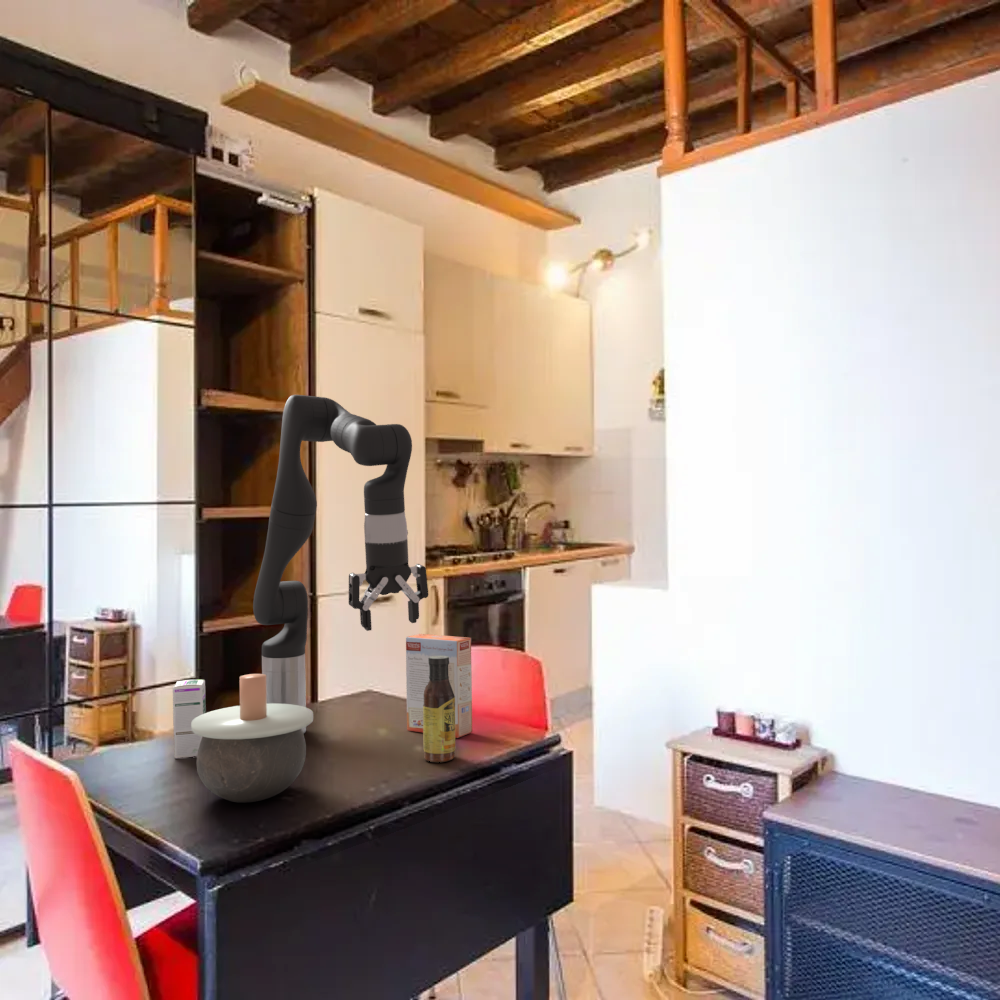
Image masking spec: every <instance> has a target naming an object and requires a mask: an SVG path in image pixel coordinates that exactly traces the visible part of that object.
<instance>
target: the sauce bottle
mask: <svg viewBox="0 0 1000 1000" xmlns="http://www.w3.org/2000/svg"><path fill="white" fill-rule="evenodd" d="M428 661H429V673H430V674H429V679H430V680H429V682H428V685H427V686H426V687H425V690H424V705H423V733H422V734H423V735H422V736H423V737H422V738H423V740H422V741H423V744H422V745H423V746H422V747H423V758H424V759H425V761H426V762H429V761H430V763H439V762H440V763H445V762H450V761H452V760H453V759H454V758H455V752H456V738H455V696H454V693H453V690H452V687H451V684H450V682H449V676H448V665H449V657H448V656H431V657H429V658H428Z"/></svg>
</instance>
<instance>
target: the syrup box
mask: <svg viewBox="0 0 1000 1000" xmlns="http://www.w3.org/2000/svg"><path fill="white" fill-rule="evenodd" d="M206 698H207V697H206V680H205V679H184V680H177V681H176V683H175V684H174V685H173V686H172V716H173V717H172V718H173V719H172V720H173V725H172V726H173V755H174V759H181V758H180V757H191V756H197V754H198V749H199V745H200V742H201V739H202V736H199V735H197V734H195V733H193V732H192V730H191V722H192V720H193V719H195V718H196V717H198V716H200V715H202V714H204V713H207V707H206V705H207V704H206Z"/></svg>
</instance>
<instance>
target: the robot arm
mask: <svg viewBox="0 0 1000 1000" xmlns="http://www.w3.org/2000/svg"><path fill="white" fill-rule="evenodd" d="M280 432H281V434H280V445H279V456H278V466H277V473H276V479H275V483H274V490H273V496H272V500H271V506H270V512H269V517H268V518H269V519H268V527H267V528H268V529H267V534H266V539H265V540H266V541H265V548H264V552H263V558H262V562H261V566H260V569H259V573H258V577H257V581H256V586H255V590H254V593H253V602H252V604H253V605H252V609H253V616H254V619H255V620H256V622H257V623H258V624H260V625H262V626H272V625H282V624H283V625H284V626H283V628H282V629H281V630H280V631H279V632H278V633H277V634H276V635H274V636H273V637H271V638H269V639H267V640H265V641H264V642H262V645H261V674H265V675H266V698H267V704H269V703H276V704H292V705H299V706H303V707H306V708H307V703H306V702H307V701H306V700H307V695H306V694H307V693H306V691H307V690H306V689H307V688H306V687H307V686H306V678H307V677H306V644H307V638H308V615H309V613H308V612H309V597H308V593H307V592H308V591H307V589H306V586H305V584H304V583H302V581H299V580H287V581H286V580H285V581H284V580H283V581H281V579H282V577H283V575H284V572H285V570H286V568H287V566H288V565H289V563H290V562H291V561H292V559H293V558H294V557H295V555H297V553H298V552H299V551H300V550H301V549H302V547H303V546H304V545H305V544H306V542H307V541H308V539H309V538H310V536H311V534H312V532H313V529H314V524H315V523H314V522H315V519H316V514H317V513H316V511H317V506H318V505H317V496H316V494H315V491H314V489H313V487H312V484H311V483H310V480H309V478H308V477H307V474H306V473H305V470H304V468H303V465H302V461H301V460H302V459H301V448H302V447H301V445H302V442H313V443H314V442H315V443H316V442H317V443H324V442H333V443H334V445H336V446H337V447H338V448H339V449H340V450H342V451H345V452H346V453H349V454H350V455H351V457H352V458H353V461H355V463H356V464H358V465H360V466H365V467H374V466H375V467H376V466H384V465H385V466H386V467H385V470H384V472H383V474H381V475H380V476H378V477H376V478H375V477H374V478H373V479H369V480H367V481H366V482H365V483H364V485H363V500H364V503H363V504H364V523H363V524H364V525H363V526H364V527H363V529H364V545H365V546H364V547H365V548H364V551H365V566H366V567H365V568H366V569H365V571H364V573H354V572H351V573H349V574H348V605H349V606H350V607H352V608H353V609H355V610H359V616H360V617H359V619H360V626H361V627H362V628H364V630H366V631H367V632H368V631H369V632H370V631H372V629H373V628H372V612H371V611H372V610H371V609H370V608H371V606H372V605H373V604H374V601H376V600H377V599H378V597H379V595H381V596H386V595H389V594H399V593H400V592H402V593H404V595H405V596H406V597H407V598H408V601H407V611H408V621H409V623H411V624H415V623H417V621H418V620H419V617H420V607H419V606H420V605H419V603H420V601H421V600H423V599H427V598H429V587H428V576H427V568H426V566H424V565H423V564H420V563H416V564H415V565H414V566H410V565H409V544H408V543H409V541H408V540H409V539H408V536H409V535H408V534H409V532H408V531H409V530H408V525H407V518H406V517H407V516H406V511H405V510H406V508H405V485H406V481H407V480H406V478H407V473H408V469H409V466H410V460H411V456H412V452H413V440H412V436H411V434H410V432H409V429H407V428H406V427H405V426H404V425H403V424H399V423H391V424H376V423H375V422H374V421H372V420H370V419H369V418H367V417H366V418H365V417H362V416H360V415H357V414H354V413H351V412H350V411H348V410H347V409H346V408H344V406H343V405H341V404H339V403H338V402H337V401H336V400H335V399H334V400H333V399H331V398H329V397H325V396H314V395H303V394H292V395H290V396H289V397H288V399H287V400H286V402H285V405H284V407H283V411H282V421H281V431H280ZM411 575H412V576H413V577H414V578H415V583H416V591H414V590H413V589H412V587H411V586H410V585H409V583H408V582H407V581H408V580H409V578H410V577H411ZM364 581H366V582H367V584H368V586H367V588H366V589H365V591H364V593H363V596H362V597H361V599H360V587H361V586H362V585H363V582H364ZM301 729H302V732H303V734H306V732H307V726H306V727H304V728H301Z"/></svg>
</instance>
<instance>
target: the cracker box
mask: <svg viewBox="0 0 1000 1000" xmlns="http://www.w3.org/2000/svg"><path fill="white" fill-rule="evenodd" d="M431 656H448V657H449V665H448V676H449V682H450V684H451V687H452V690H453V693H454V696H455V739H460V738H463V737H464V736H466V735H469V734H472V733H473V692H472V690H473V684H472V683H473V681H472V678H473V677H472V672H473V671H472V637H468V636H467V637H466V636H465V637H464V636H452V635H443V634H441V635H440V634H431V633H430V634H428V633H417V634H412V635H408V636H406V637H405V660H406V661H405V662H406V663H405V664H406V665H405V668H406V669H405V670H406V671H405V673H406V675H405V676H406V683H405V684H406V688H405V689H406V730H407V731H409V732H414V733H415V732H416V733H421V734H423V705H424V690H425V687H426V686H427V685H428V682H429V680H430V679H429V674H430V673H429V661H428V658H429V657H431Z"/></svg>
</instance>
